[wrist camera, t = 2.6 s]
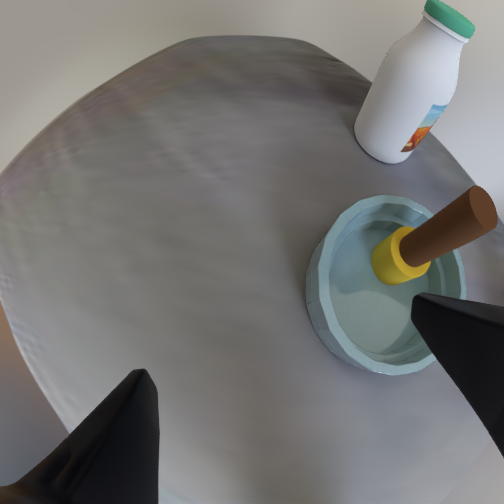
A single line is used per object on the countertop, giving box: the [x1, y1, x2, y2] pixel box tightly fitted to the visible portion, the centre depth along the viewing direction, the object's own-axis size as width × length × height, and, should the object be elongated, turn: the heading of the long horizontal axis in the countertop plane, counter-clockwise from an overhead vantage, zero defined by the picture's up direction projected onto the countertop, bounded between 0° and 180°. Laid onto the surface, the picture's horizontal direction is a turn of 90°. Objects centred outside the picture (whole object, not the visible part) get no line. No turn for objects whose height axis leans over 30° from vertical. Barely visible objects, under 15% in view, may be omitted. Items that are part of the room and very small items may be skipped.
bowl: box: [306, 195, 466, 376], centre depth 21 cm, size 15×15×5 cm
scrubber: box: [371, 186, 497, 285], centre depth 17 cm, size 4×4×13 cm
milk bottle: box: [354, 0, 475, 164], centre depth 19 cm, size 8×8×20 cm
